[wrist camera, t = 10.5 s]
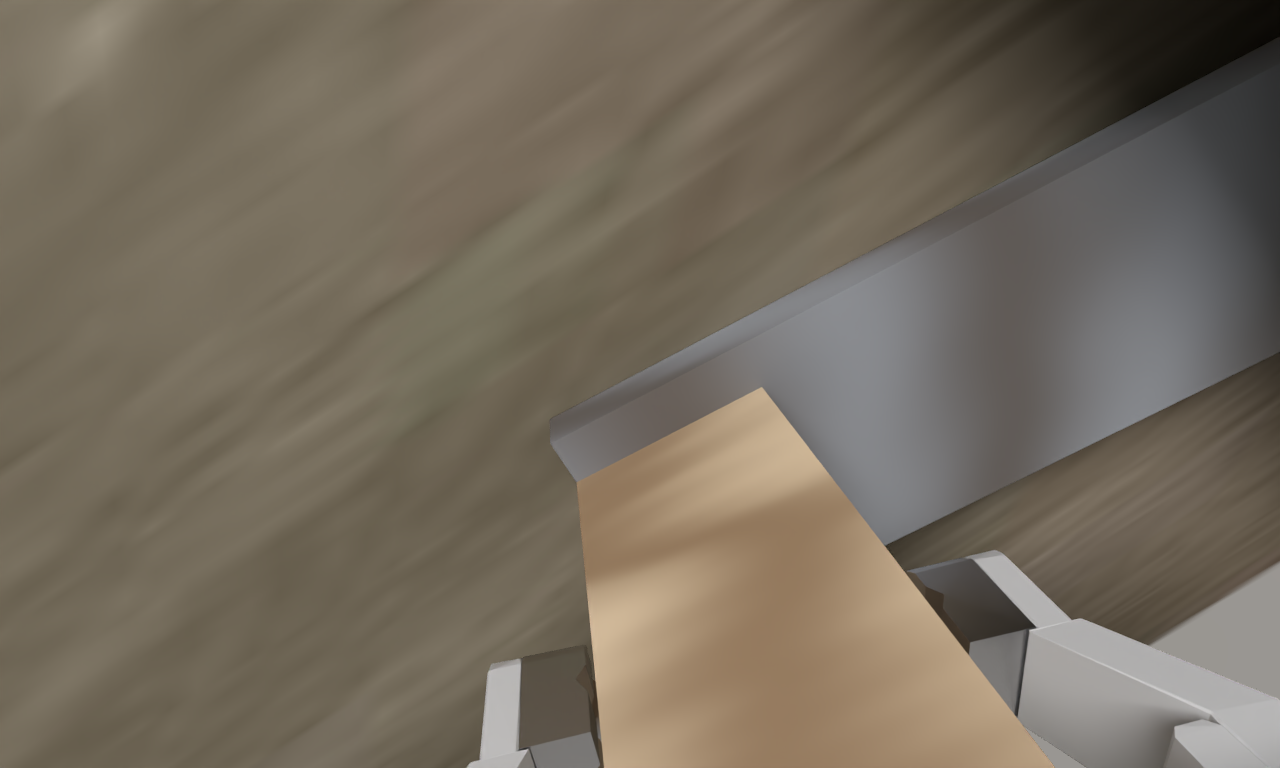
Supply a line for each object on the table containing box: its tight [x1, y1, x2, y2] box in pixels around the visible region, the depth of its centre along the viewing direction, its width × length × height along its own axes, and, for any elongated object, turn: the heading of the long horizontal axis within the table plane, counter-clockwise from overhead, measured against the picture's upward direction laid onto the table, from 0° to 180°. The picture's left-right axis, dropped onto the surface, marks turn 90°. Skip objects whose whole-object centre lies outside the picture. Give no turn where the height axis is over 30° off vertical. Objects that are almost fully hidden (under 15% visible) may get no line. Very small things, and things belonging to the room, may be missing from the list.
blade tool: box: [550, 37, 1280, 768], centre depth 10 cm, size 16×6×9 cm, turn 117°
